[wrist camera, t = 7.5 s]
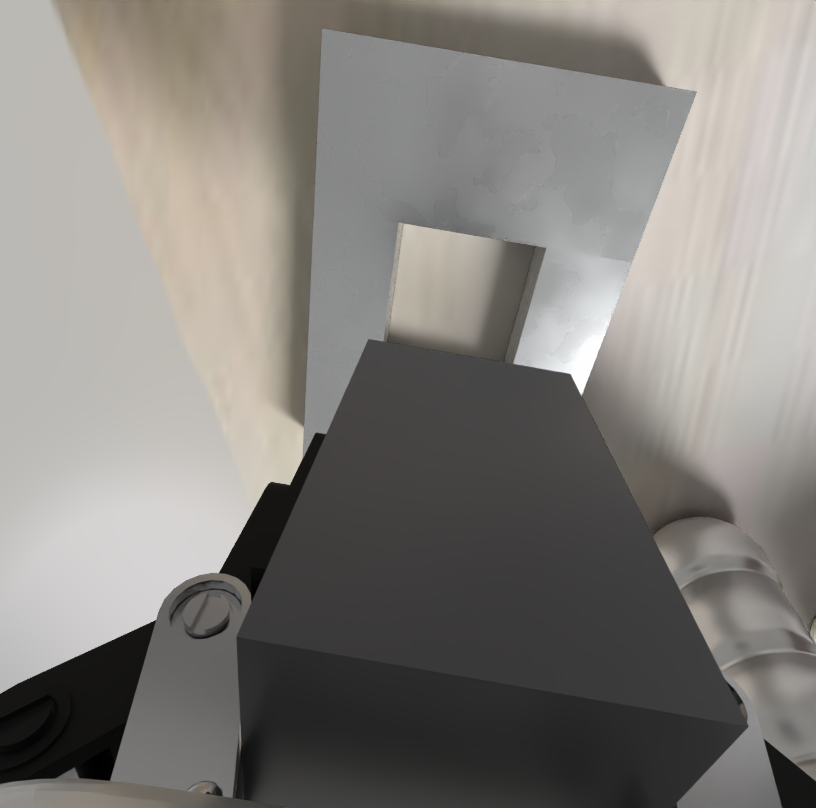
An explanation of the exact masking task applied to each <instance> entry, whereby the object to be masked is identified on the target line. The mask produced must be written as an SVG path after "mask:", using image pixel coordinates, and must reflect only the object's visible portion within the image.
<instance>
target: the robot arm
mask: <svg viewBox="0 0 816 808" xmlns="http://www.w3.org/2000/svg"><path fill="white" fill-rule="evenodd" d="M325 436H326V434H323V433H315V435H314V437H313V439H312V441H311V443H310V445H309V447H308V449H307V451H306V453H305V455H304V457H303V459H302V461H301V464H300V466H299V468H298V470H297V472H296V474H295V476H294V478H293V480H292V482H291V484H290V485H286V484H280V483H274V482H271V483H269V484H268V486H267V487H266V488H265V490H264V492H263V494H262V496H261V498H260V499H259V501H258V503H257V505H256V507H255V508H254V510H253V512H252V514H251V516H250V518H249V519H248V521H247V523H246V525H245V527H244V528H243V530H242V532H241V534H240V536H239V538H238V540H237V541H236V543H235V545H234V547H233V548H232V550H231V552H230V554H229V556H228V558H227V559H226V561H225V563H224V565H223V567H222V569H221V570H220V572H219V573H210V574H204V575H199V576H196V577H194V578H191V579H189V580H186V581H185V582H183V583H182V584H180V585H179V586H178V587H176V588H174V589H173V591H172V592H171V593H170V594H169V595H168V596H167V597H166V598H165V599H164V602H163V604H162V606H161V608H160V610H159V612H158V616H157V620H155V621H153V622H151V623H149V624H147V625H145V626H142V627H140V628H138V629H136V630H134V631H132V632H129V633H127V634H125V635H123V636H121V637H119V638H116V639H114V640H112V641H110V642H108V643H106V644H103V645H101V646H99V647H97V648H95V649H92V650H90V651H88V652H86V653H84V654H82V655H79V656H77V657H75V658H73V659H71V660H69V661H66V662H64V663H62V664H60V665H58V666H55V667H53V668H51V669H49V670H47V671H45V672H42V673H40V674H38V675H36V676H34V677H32V678H30V679H27V680H25V681H23V682H21V683H19V684H17V685H15V686H13V687H11V688H10V689H8V690H6V691H4V692H3V693H1V694H0V808H289V807H283V806H277V805H271V804H266V803H260V802H254V801H248V800H244V788H243V767H242V746H241V725H240V704H239V683H238V663H237V642H236V636H237V634H238V632H239V630H240V627H241V625H242V623H243V621H244V618H245V616H246V614H247V611H248V609H249V607H250V605H251V602H252V600H253V598H254V596H255V593H256V591H257V589H258V587H259V584H260V582H261V580H262V578H263V575H264V573H265V571H266V569H267V566H268V564H269V562H270V560H271V557H272V555H273V553H274V551H275V548H276V546H277V544H278V542H279V539H280V537H281V535H282V533H283V530H284V528H285V526H286V524H287V521H288V519H289V517H290V515H291V512H292V510H293V508H294V506H295V503H296V501H297V499H298V497H299V494H300V492H301V490H302V488H303V485H304V483H305V481H306V479H307V476H308V474H309V472H310V469H311V467H312V465H313V463H314V460H315V458H316V456H317V454H318V451H319V449H320V447H321V445H322V442H323V440H324V438H325ZM720 670H721V669H720ZM721 672H722V674H723V676H724V678H725V680H726V682H727V684H728V686H729V688H730V690H731V692H732V694H733V696H734V698H735V700H736V702H737V704H738V706H739V708H740V710H741V712H742V714H743V716H744V718H745V720H746V722H747V724H748V726H749V727H748V728H747V729H746V730H745V731H744V732H743V733H742V734H741V735H740V736H739V738H738V739H737V740H736V741H735V742H734V743H733V744H732V745H731V746H730V747H729V748H728V749H727V750H726V751H725V752H724V753H723V755H722V756H721V757H720V758H719V759H718V760H717V761H716V762H715V763H714V764H713V765H712V766H711V767H710V768H709V769H708V770H707V772H706V773H705V774H704V775H703V776H702V777H701V778H700V779H699V780H698V781H697V782H696V783H695V784H694V785H693V786H692V787H691V789H690V790H689V791H688V792H687V793H686V794H685V795H684V796H683V797H682V798H681V799H680V800H679V801H678V802H677V803H676V804H675V806H674V807H673V808H816V781H815V780H814V779H813V778H812V777H810V776H809V775H808V774H807V773H805V772H804V771H803V770H802V769H801V768H799V767H798V766H797V765H796V764H794V763H793V762H792V761H791V760H790V759H788V758H787V757H786V756H785V755H783V754H782V753H781V752H780V751H778V750H777V749H776V748H775V747H774V746H772V745H771V744H770V743H769V742H767V741H766V740H765V739H764V738H763V735H762V731H761V728H760V724H759V720H758V717H757V714H756V712H755V709H754V707H753V705H752V702H751V701H750V699H749V698H748V696H747V695H746V693H745V692H744V691H743V689H742V688H741V687H740V686H739V685H738V684H737V683H736V682H735V681H734V680H733V679H732V678H731V677H730V676H729V675H728V674H727V673H725V672H724V671H723V670H721Z"/></svg>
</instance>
